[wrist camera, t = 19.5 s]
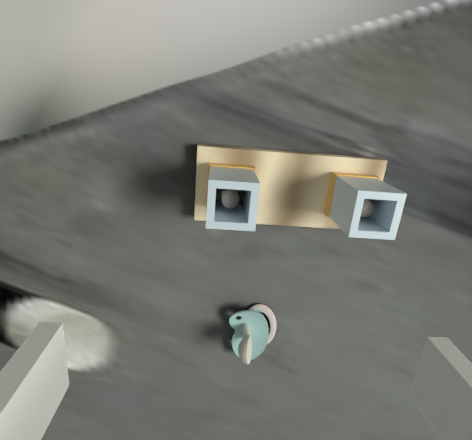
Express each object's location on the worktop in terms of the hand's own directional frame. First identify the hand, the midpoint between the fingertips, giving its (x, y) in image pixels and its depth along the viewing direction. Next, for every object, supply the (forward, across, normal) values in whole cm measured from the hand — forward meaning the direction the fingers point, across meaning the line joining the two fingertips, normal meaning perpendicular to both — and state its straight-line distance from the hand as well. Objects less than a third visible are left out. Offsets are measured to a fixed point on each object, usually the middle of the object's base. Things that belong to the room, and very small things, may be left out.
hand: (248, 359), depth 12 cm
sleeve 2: (+25, +13, 0) cm, 28 cm away
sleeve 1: (+25, 0, 0) cm, 25 cm away
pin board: (+27, +6, 0) cm, 27 cm away
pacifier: (+27, +5, -18) cm, 33 cm away
